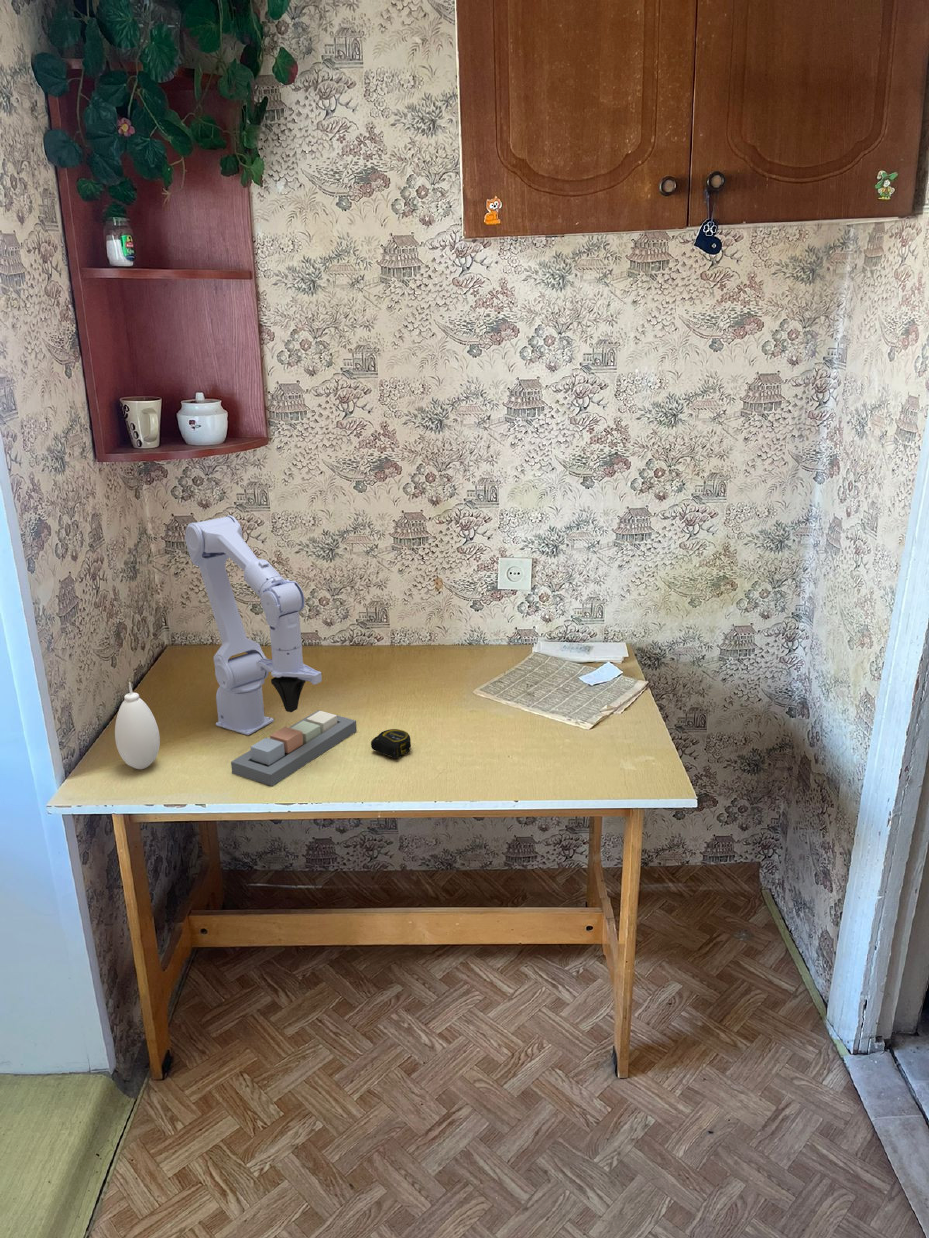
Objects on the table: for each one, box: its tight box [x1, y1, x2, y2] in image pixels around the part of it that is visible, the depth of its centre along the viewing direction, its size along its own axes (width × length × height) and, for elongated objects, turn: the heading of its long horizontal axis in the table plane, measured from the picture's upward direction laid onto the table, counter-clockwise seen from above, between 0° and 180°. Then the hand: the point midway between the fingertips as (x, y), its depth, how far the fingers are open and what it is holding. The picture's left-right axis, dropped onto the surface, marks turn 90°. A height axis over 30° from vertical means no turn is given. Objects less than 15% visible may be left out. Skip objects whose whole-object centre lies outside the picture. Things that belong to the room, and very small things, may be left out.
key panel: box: [230, 709, 358, 788], centre depth 188 cm, size 10×26×2 cm, turn 149°
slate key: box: [250, 737, 285, 765], centre depth 180 cm, size 4×4×3 cm
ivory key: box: [306, 710, 337, 734], centre depth 194 cm, size 4×4×3 cm
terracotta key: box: [269, 726, 303, 753], centre depth 185 cm, size 4×4×3 cm
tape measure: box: [370, 728, 412, 760], centre depth 187 cm, size 7×7×4 cm
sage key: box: [292, 721, 321, 746], centre depth 189 cm, size 4×4×3 cm
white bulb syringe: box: [114, 681, 161, 770], centre depth 180 cm, size 8×8×18 cm
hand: (291, 709), depth 184 cm, fingers closed
